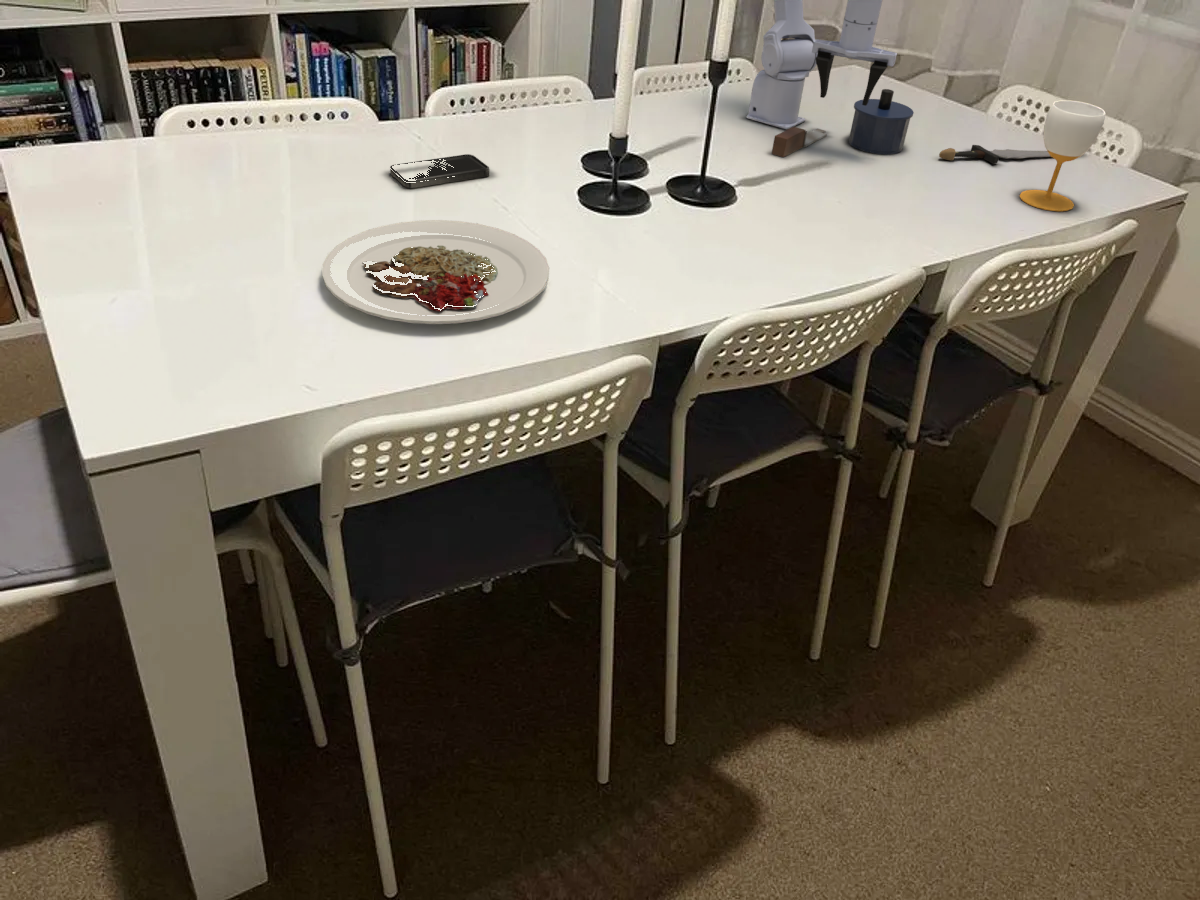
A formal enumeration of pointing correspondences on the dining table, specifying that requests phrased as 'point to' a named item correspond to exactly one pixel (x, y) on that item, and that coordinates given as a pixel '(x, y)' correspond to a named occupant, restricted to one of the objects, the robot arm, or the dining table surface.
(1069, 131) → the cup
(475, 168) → the phone
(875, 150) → the pot
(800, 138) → the knife
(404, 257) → the plated food
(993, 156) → the dagger
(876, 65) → the robot arm
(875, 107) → the pot lid
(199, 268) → the dining table surface
